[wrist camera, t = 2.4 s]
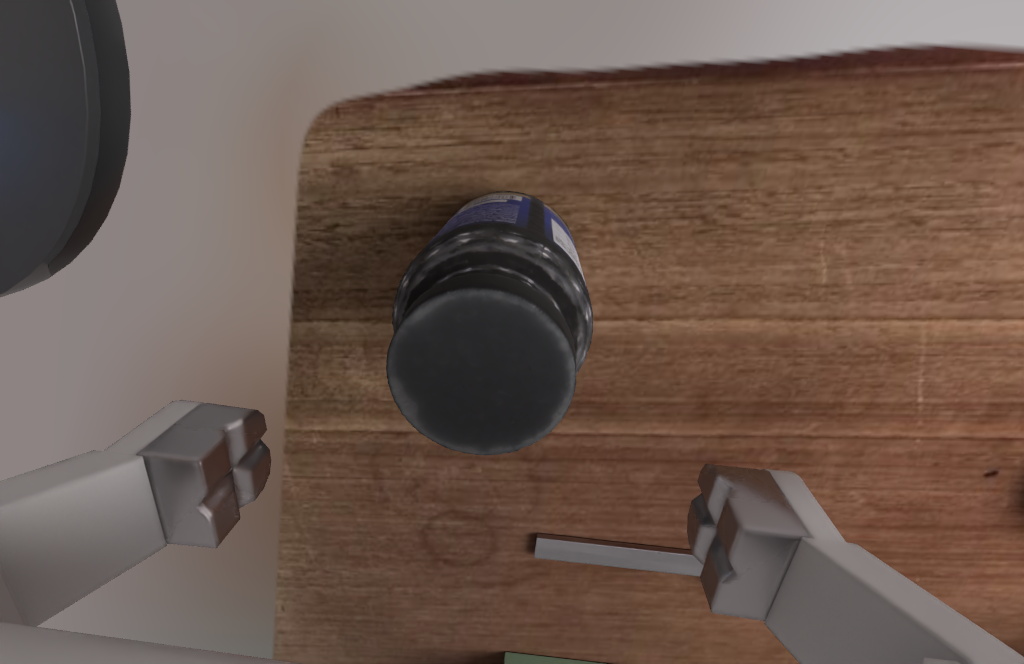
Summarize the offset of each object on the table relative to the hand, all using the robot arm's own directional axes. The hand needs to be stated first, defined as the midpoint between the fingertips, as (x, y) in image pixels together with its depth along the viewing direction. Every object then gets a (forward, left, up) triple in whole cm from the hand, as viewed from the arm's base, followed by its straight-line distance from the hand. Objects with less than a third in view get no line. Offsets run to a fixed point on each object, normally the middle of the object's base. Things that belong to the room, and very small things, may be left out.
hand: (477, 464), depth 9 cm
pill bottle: (0, 0, -14) cm, 14 cm away
